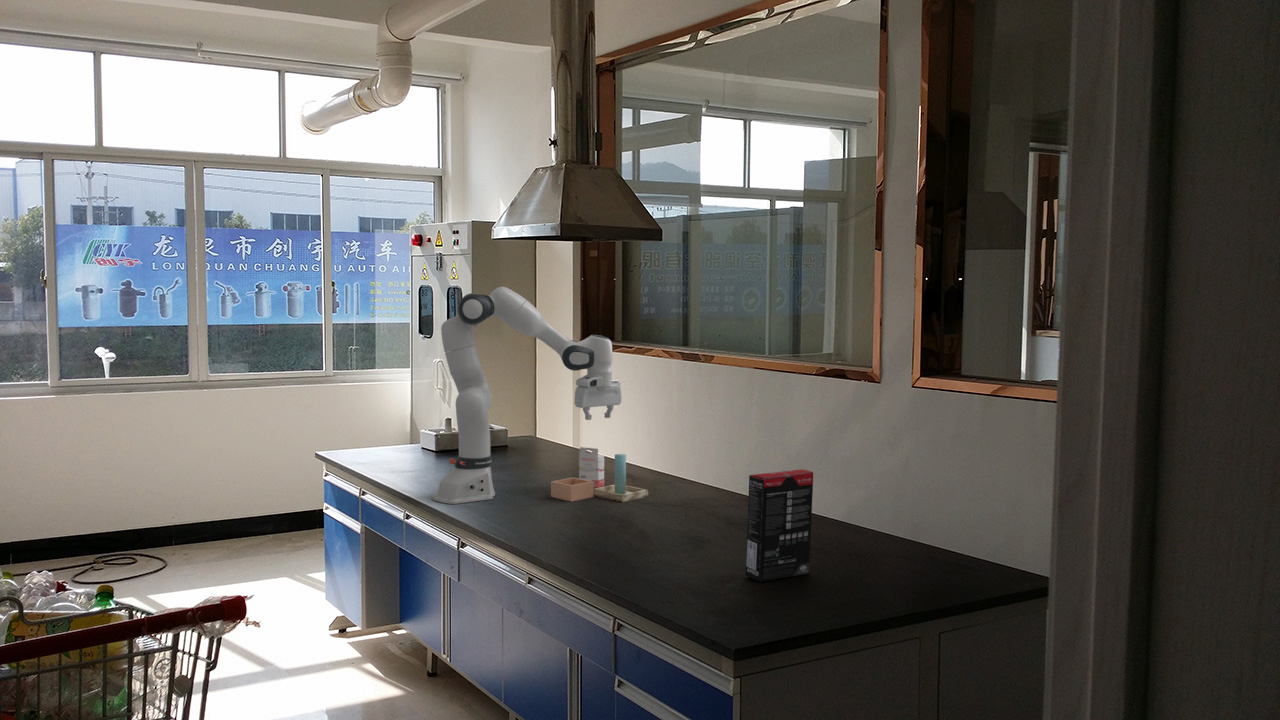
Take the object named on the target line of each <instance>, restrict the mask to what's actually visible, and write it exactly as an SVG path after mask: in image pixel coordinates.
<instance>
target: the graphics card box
mask: <svg viewBox="0 0 1280 720" xmlns="http://www.w3.org/2000/svg"><path fill="white" fill-rule="evenodd" d="M748 478H749V479H748V500H747V501H748V503H747V526H746V527H747V528H746V529H747V530H746V531H747V532H746V536H747V537H746V552H745V553H746V556H745V559H746V560H745V576H746V577H748V578H751V579H752V580H755V581H757V582H759V583H762V582H767V581H773V580H779V579H786V578H792V577H795V576H796V577H797V576H802V575H807V574H809V573H810V566H811V565H810V562H811V560H810V559H811V539H812V537H811V535H812V517H813V514H812V513H813V494H814V492H813V488H814V471H811V470H807V469H793V470H784V471H777V472H774V471H773V472H766V473H755V474H749V475H748Z"/></svg>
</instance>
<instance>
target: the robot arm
mask: <svg viewBox="0 0 1280 720" xmlns="http://www.w3.org/2000/svg"><path fill="white" fill-rule="evenodd" d="M490 317H496V318H498V319H499V320H501V321H503V323H505V324H506V325H508V326H509V327H510V328H512V329H513V330H515V331H516V332H518V333H520V334H522V335H525V336H530V337H533V338H536V339H539V341H542V342H543V343H544V344H545V345H547V346H548V347H550V349H552V350H553V351H555V352H556V354H558V355H559V357H560V358H561V361H562V363H563V365H564V366H565V368H566V369H568V370H570V371H573V372H576V371H578V372H579V371H582V370H586V374H585V375H583V376H582V377H579V378H578V379H576V380H575V384H576V388H575V391H574V405H575V407H576V408H580V409H582V411H583V413H584V416H585V417H584V419H585V421H591V420H592V418H593V417H592V416H593V415H592V414H591V413H590V412H589V411H591V410H590V408H596V407H606V408H607V409H606V412H604V413H603V414H604V418H605V419H610V418H611V416H612V413H613V410H614V406H620V405H621V403H622V389H621V382H620V381H619V380H618V379H617V378H616V379H612V375H613V370H612V363H613V343H612V341H611V339H609V337H606V336H604V335H598V334H591V335H589V336H588V337H586V338H584V339H582V340H580V341H576V340H572V339H569V338H568V337H566V336H565V335H563V334H562V333H561V332H559V330H556V329H555V328H554V327H553V326H552V325H551V324H549V322H548V321H547V320H546V319H545V317H544V316H543V314H541V312H540V311H539V310H538V308H536V307H535V305H534V304H532V303H531V301H529V300H528V299H526V298H525V297H524V296H522V295H520V293H517V292H515V291H514V290H513V289H510V288H508V287H505V286H499V287H496V288H495V289H493V290H492V291H491V293H490V294H489V295H487V294H480V293H478V292H471V293H468V294H465V295H464V296H462V298H461V299H460V300H459V302H458V305H457V314H456V315H455V316H453V317H451V318H448V319H446V320H445V321H443V323H442V324H441V328H440V331H441V341H442V346H443V351H444V353H445V354H444V356H445V359H446V362H447V363H446V364H447V367H448V371H449V374H450V376H451V377H452V380H453V382H454V385H455V386H456V390H457V393H458V395H457V397H456V400H455V410H456V411H455V414H456V423H457V430H458V433H457V434H458V456H457V458H453V457H451V458H449V460H448V462H449V464H450V465H454V468H453V469H451V470H450V472H448V474H447V475H445V476H444V477H443V478H442V479H441V480H440V482H439V485H438V493H436V494H432V495H431V500H433V501H435V502H439V503H443V504H450V505H458V504H464V503H465V504H466V503H472V502H473V503H474V502H478V501H479V502H480V501H487V500H493V499H494V497H495V496H496V492H495V489H494V485H493V479H492V462H493V460H492V459H493V458H492V454H491V431H490V430H491V429H490V424H489V410H490V408H491V407H492V404H493V396H492V391H491V389H490V386H489V384H488V381H487V378H486V374H485V372H484V370H483V368H482V367H483V366H482V365H481V361H480V356H479V352H478V349H477V345H476V341H475V339H474V331H473V330H474V328H475V327H476V326H478V325H480V324H482V323H484V322H485V321H486V320H487V319H488V318H490Z"/></svg>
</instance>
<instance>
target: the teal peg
mask: <svg viewBox="0 0 1280 720" xmlns="http://www.w3.org/2000/svg"><path fill="white" fill-rule="evenodd" d="M614 485H615V493H617V494H622V495H623V494H626V486H627V454H625V453H615V454H614Z"/></svg>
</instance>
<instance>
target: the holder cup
mask: <svg viewBox="0 0 1280 720" xmlns="http://www.w3.org/2000/svg"><path fill="white" fill-rule="evenodd" d="M594 489H595V488H594V482H593V481H588V480H583V479H579V477H567V478H563V479H557V480H553V481H551V482H550V490H551V491H550V497H551V498H555V499H559V500H562V501H563V500H564V501H567V502H575V501H581V500H585V499H590V498H594V496H593V491H594Z"/></svg>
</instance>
